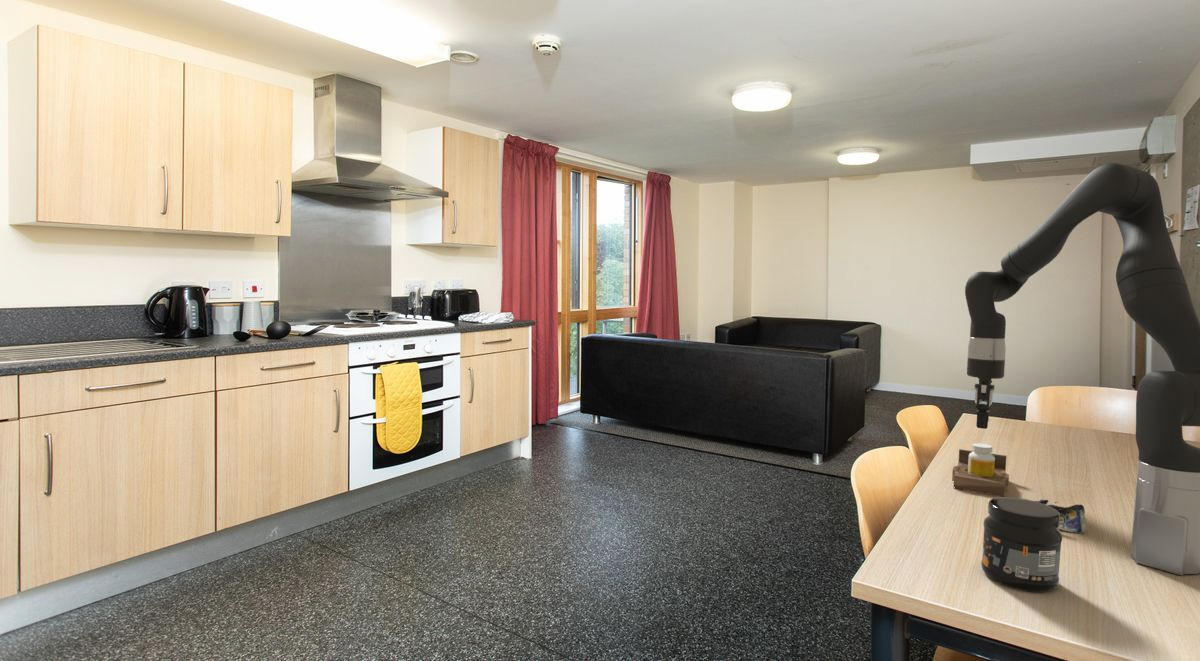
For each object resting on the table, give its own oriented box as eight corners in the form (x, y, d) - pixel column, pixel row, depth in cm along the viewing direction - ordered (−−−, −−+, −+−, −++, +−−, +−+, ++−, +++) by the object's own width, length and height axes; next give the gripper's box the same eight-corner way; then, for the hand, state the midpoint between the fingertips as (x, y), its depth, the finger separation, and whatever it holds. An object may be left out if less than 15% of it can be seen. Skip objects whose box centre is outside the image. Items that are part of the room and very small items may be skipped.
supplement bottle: (962, 480, 153) (965, 442, 152) (986, 481, 152) (988, 442, 152) (973, 488, 148) (976, 447, 147) (997, 489, 147) (1000, 448, 146)
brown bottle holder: (1007, 497, 141) (1009, 471, 141) (950, 487, 148) (951, 462, 147) (1008, 480, 154) (1009, 456, 154) (955, 471, 160) (956, 448, 160)
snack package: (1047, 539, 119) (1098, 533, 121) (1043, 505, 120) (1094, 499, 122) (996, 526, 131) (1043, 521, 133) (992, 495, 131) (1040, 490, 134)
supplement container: (989, 558, 109) (993, 491, 108) (1063, 579, 102) (1069, 506, 101) (973, 578, 102) (977, 506, 101) (1052, 602, 95) (1058, 524, 94)
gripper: (1005, 360, 140) (1001, 432, 141) (1005, 355, 152) (1001, 422, 153) (966, 358, 144) (962, 428, 145) (969, 353, 156) (965, 418, 157)
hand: (982, 425), depth 149 cm, fingers open, 8 cm apart
